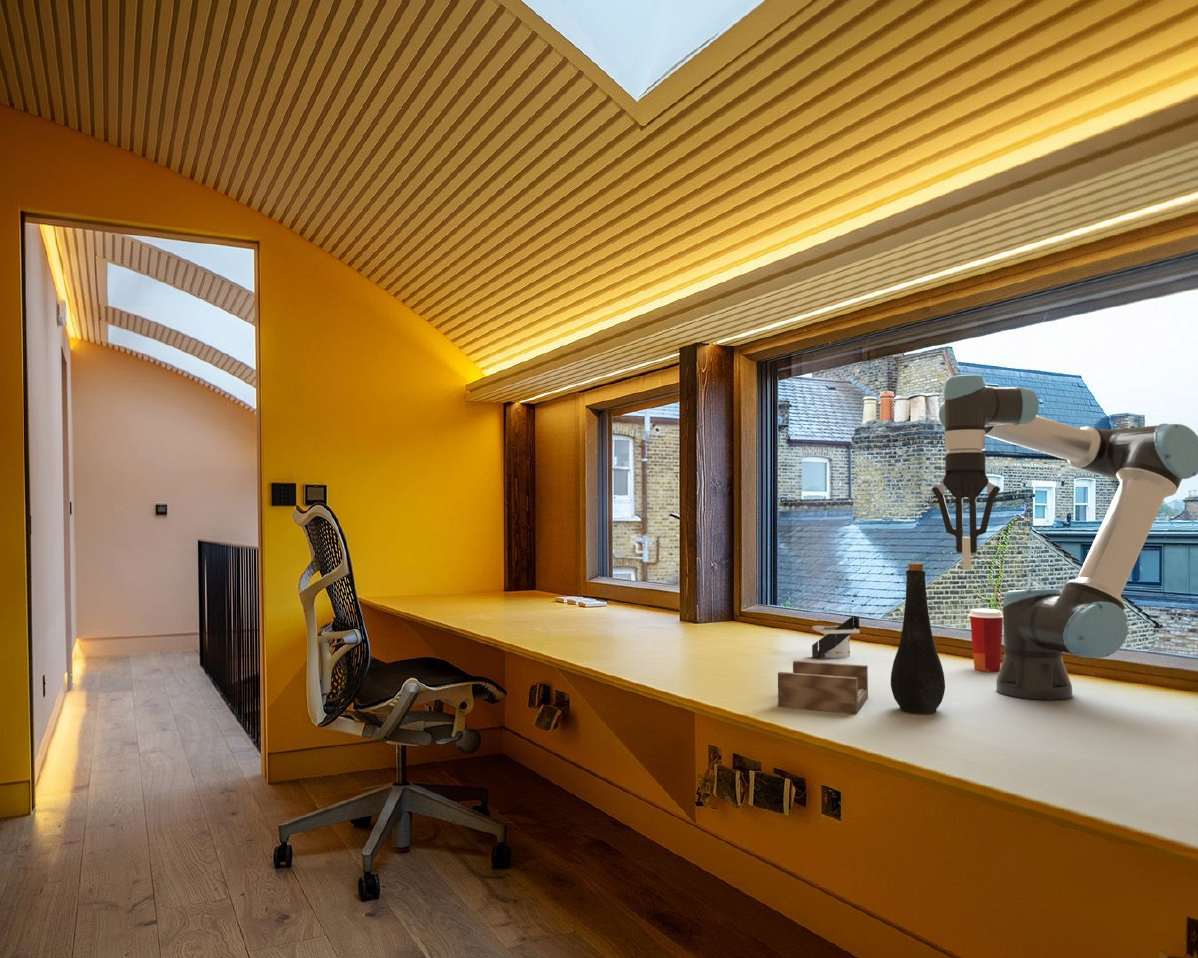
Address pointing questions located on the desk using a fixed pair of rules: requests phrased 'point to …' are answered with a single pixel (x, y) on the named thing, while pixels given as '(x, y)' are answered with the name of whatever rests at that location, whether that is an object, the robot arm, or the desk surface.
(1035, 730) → the desk surface
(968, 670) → the desk surface
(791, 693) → the cradle
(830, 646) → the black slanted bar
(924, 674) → the bottle
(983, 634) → the coffee cup
